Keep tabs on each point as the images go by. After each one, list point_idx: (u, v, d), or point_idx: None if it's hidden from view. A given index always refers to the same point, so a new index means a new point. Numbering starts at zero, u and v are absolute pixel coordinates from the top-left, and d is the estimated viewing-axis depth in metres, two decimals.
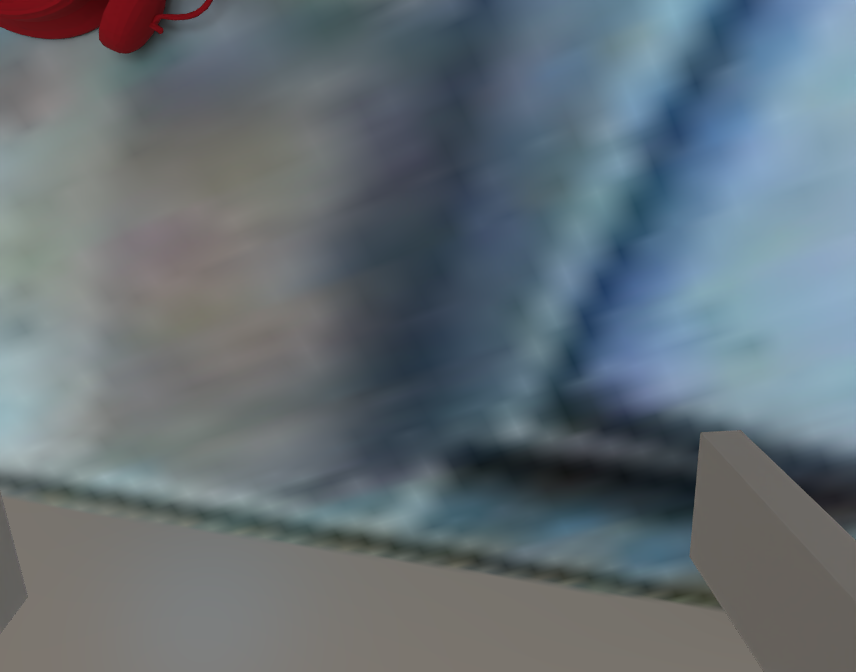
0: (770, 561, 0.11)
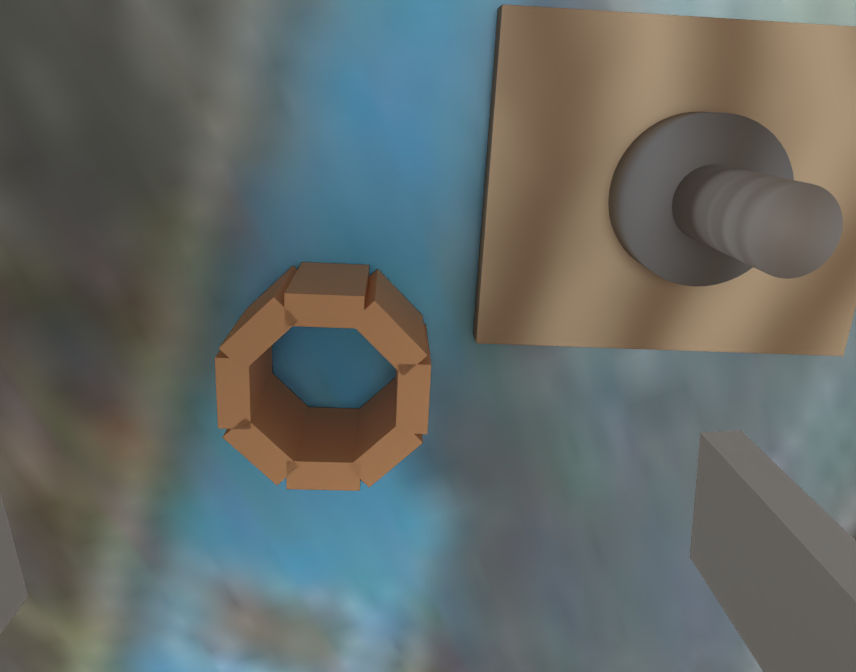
0: (770, 562, 0.11)
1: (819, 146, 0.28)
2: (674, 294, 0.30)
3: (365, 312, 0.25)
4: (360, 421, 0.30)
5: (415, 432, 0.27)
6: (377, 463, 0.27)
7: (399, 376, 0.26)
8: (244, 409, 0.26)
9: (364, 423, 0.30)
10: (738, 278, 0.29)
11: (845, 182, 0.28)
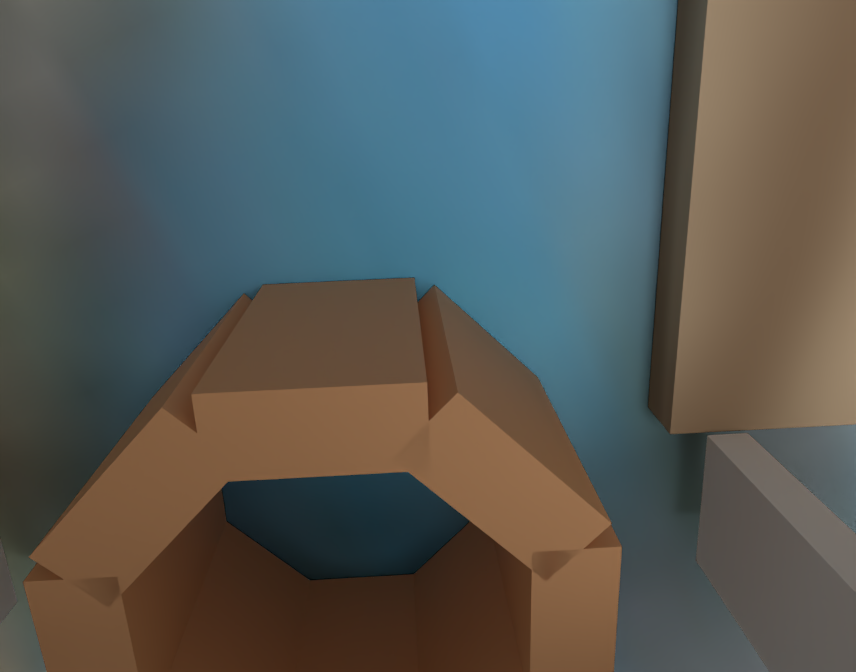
0: (780, 567, 0.11)
1: None
2: None
3: (433, 426, 0.09)
4: (422, 621, 0.14)
5: None
6: None
7: (535, 583, 0.10)
8: None
9: (433, 634, 0.13)
10: None
11: None
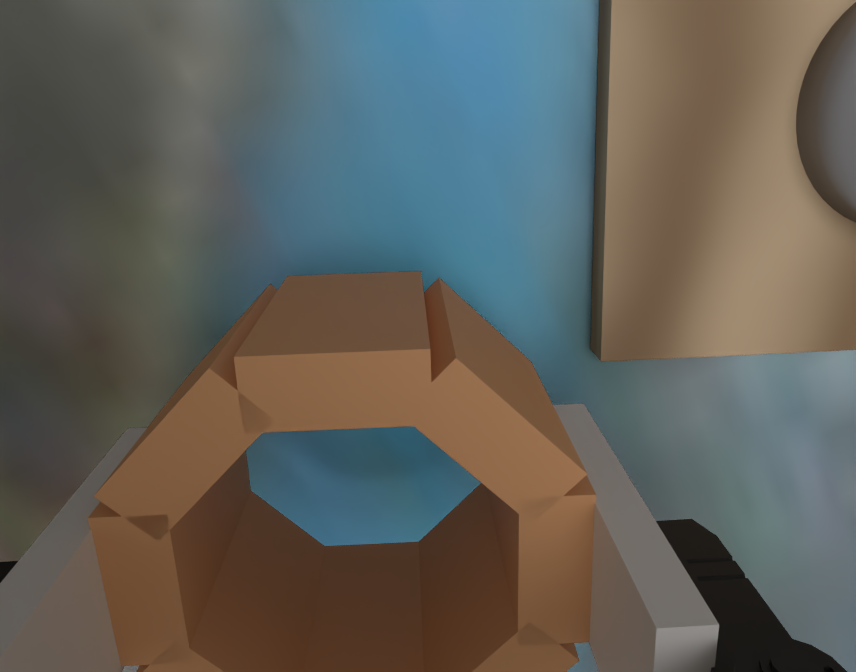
0: None
1: None
2: None
3: (435, 387, 0.10)
4: (426, 580, 0.15)
5: (562, 640, 0.12)
6: None
7: (522, 526, 0.11)
8: (172, 623, 0.11)
9: (436, 589, 0.15)
10: None
11: None
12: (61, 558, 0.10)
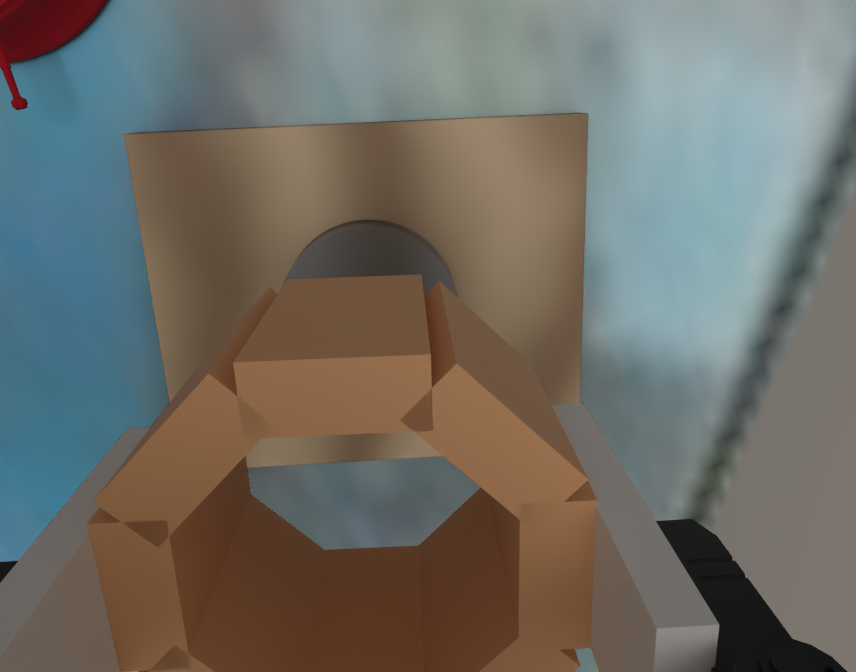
0: None
1: (501, 241, 0.26)
2: None
3: (435, 392, 0.10)
4: (426, 584, 0.15)
5: (563, 646, 0.12)
6: None
7: (523, 531, 0.11)
8: (171, 629, 0.11)
9: (436, 594, 0.15)
10: None
11: (538, 274, 0.27)
12: (61, 558, 0.10)
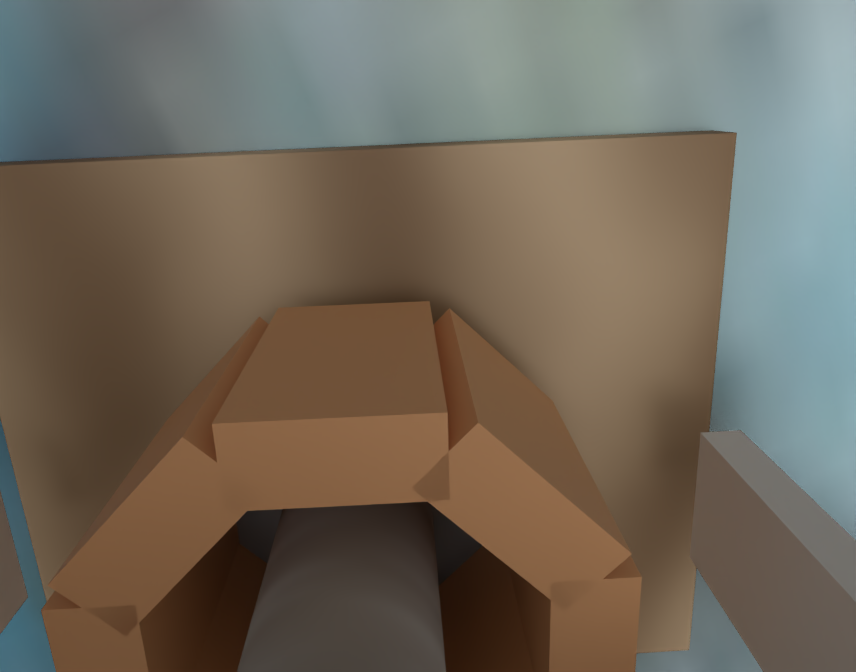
0: (770, 562, 0.11)
1: (580, 343, 0.16)
2: None
3: (453, 456, 0.09)
4: None
5: None
6: None
7: (555, 613, 0.09)
8: None
9: (448, 660, 0.13)
10: None
11: (638, 394, 0.16)
12: None
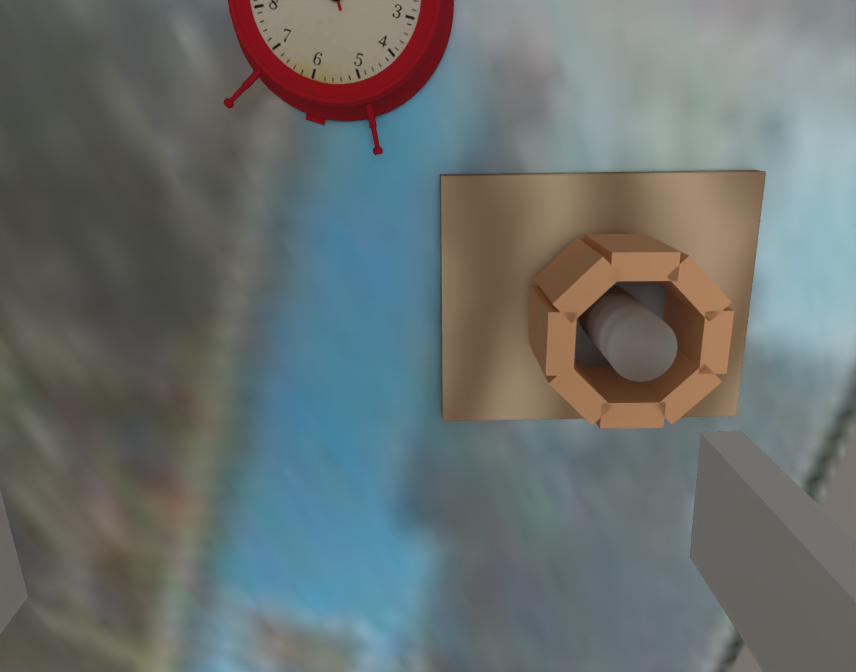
0: (770, 562, 0.11)
1: (694, 260, 0.36)
2: None
3: (680, 266, 0.29)
4: None
5: (716, 372, 0.31)
6: (681, 402, 0.31)
7: (706, 322, 0.30)
8: (569, 357, 0.30)
9: None
10: None
11: (719, 285, 0.37)
12: None
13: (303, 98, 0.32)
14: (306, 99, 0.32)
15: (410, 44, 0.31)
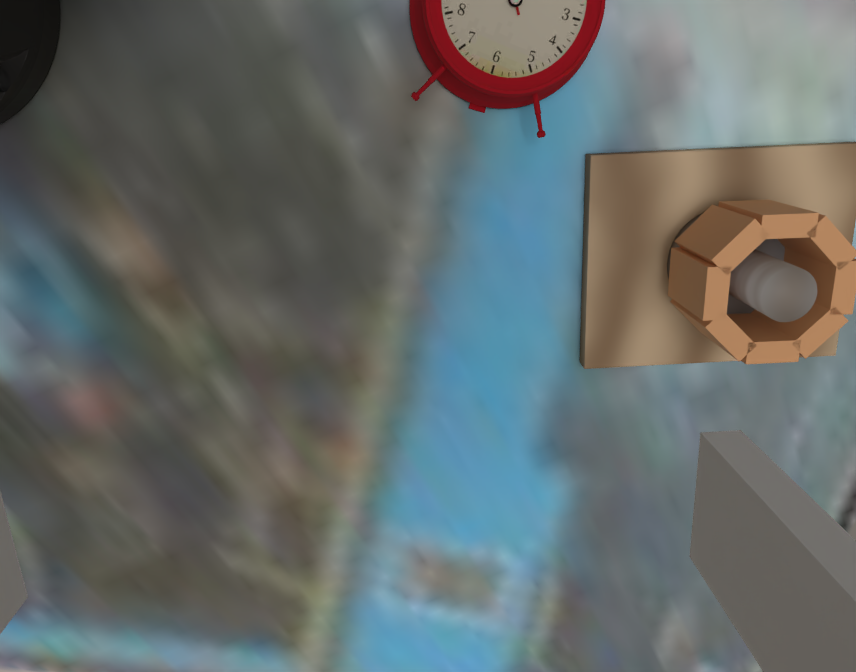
0: (770, 562, 0.11)
1: None
2: None
3: (818, 224, 0.35)
4: (766, 318, 0.40)
5: (843, 313, 0.37)
6: (813, 339, 0.37)
7: (837, 271, 0.36)
8: (723, 304, 0.36)
9: None
10: None
11: None
12: None
13: (483, 90, 0.37)
14: (486, 91, 0.37)
15: (576, 41, 0.36)
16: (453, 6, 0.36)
